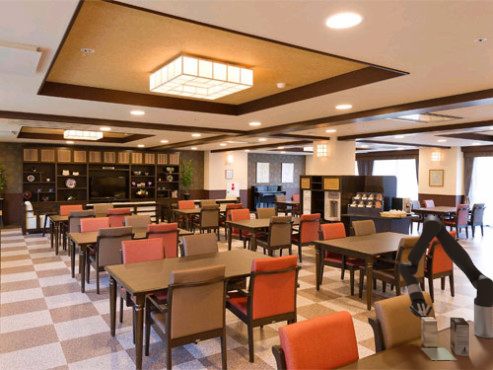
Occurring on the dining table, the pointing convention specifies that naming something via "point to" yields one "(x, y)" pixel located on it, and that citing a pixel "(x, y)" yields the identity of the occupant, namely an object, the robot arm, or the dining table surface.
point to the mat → (438, 354)
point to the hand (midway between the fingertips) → (425, 323)
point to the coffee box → (459, 336)
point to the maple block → (429, 332)
